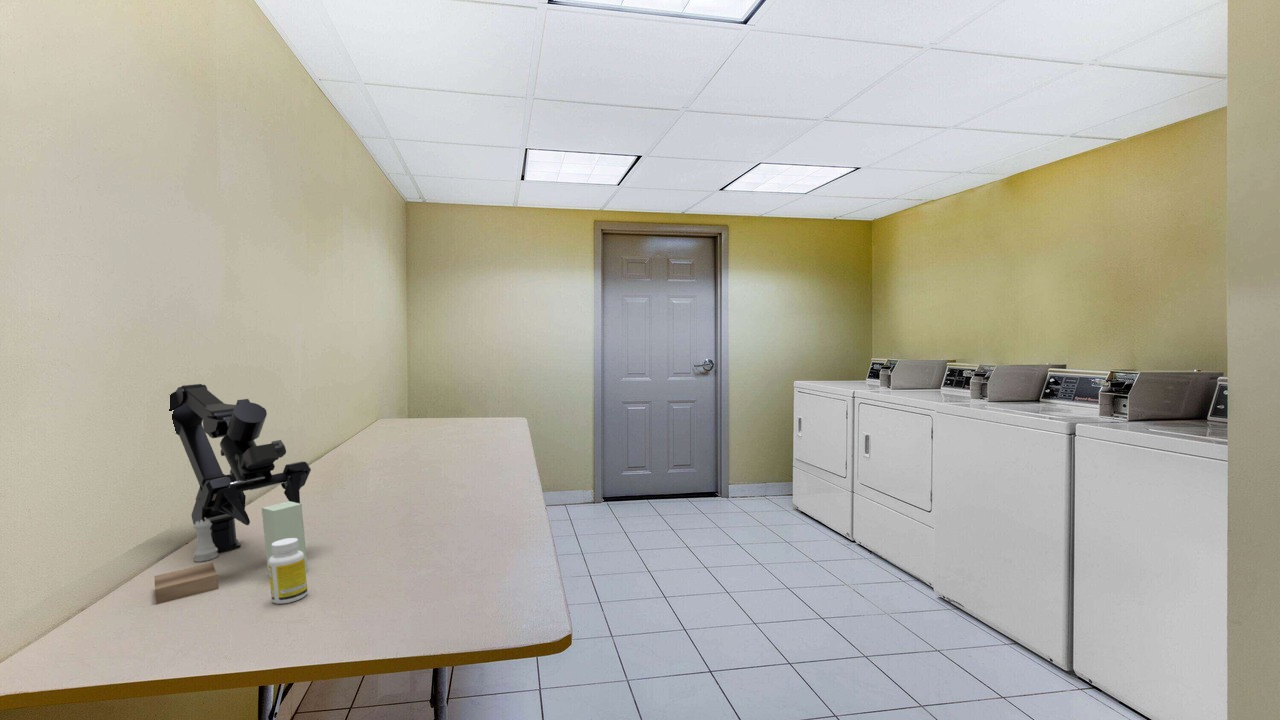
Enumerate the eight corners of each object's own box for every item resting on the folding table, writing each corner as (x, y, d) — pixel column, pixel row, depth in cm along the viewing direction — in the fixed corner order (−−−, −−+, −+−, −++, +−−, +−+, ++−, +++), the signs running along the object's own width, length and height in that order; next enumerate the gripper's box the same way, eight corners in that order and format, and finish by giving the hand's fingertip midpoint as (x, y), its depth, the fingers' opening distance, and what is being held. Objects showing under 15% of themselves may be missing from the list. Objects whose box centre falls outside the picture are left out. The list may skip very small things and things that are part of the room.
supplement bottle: (315, 592, 112) (309, 537, 111) (288, 606, 107) (283, 547, 106) (291, 590, 114) (285, 535, 113) (264, 603, 109) (258, 546, 108)
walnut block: (156, 592, 119) (154, 576, 119) (214, 577, 124) (212, 562, 124) (156, 606, 112) (154, 589, 111) (218, 590, 117) (216, 574, 117)
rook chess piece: (205, 562, 132) (201, 524, 132) (188, 562, 133) (184, 524, 133) (224, 554, 137) (220, 517, 136) (207, 554, 138) (203, 517, 137)
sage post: (268, 575, 122) (261, 507, 121) (295, 566, 126) (289, 501, 125) (280, 580, 119) (273, 511, 118) (307, 571, 123) (301, 504, 122)
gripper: (199, 438, 119) (230, 503, 113) (302, 422, 134) (334, 479, 128) (187, 477, 124) (216, 541, 118) (287, 457, 139) (318, 514, 133)
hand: (274, 517), depth 124 cm, fingers open, 9 cm apart
